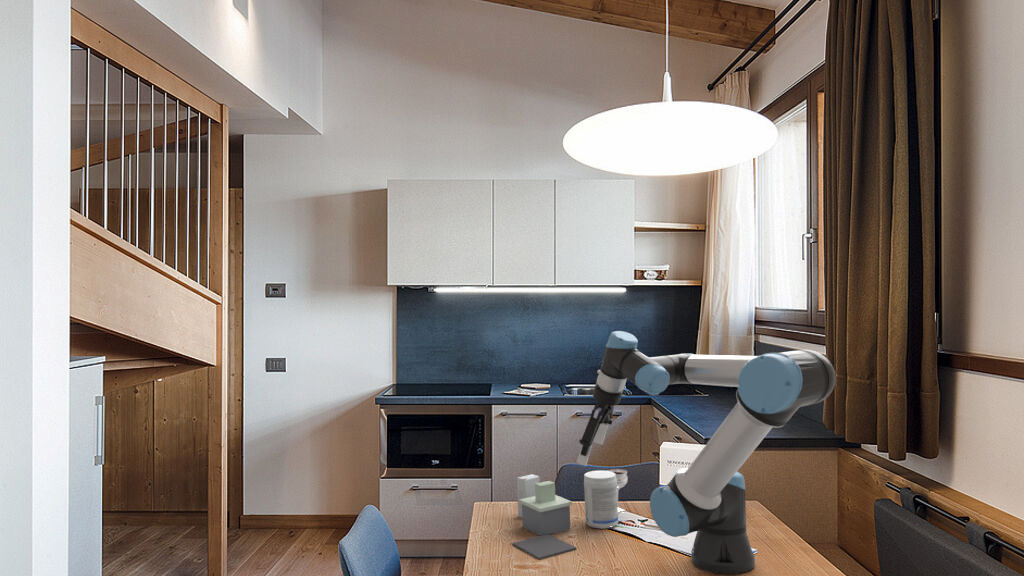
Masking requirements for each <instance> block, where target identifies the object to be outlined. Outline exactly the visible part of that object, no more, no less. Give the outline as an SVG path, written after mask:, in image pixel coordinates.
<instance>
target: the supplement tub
mask: <svg viewBox="0 0 1024 576" xmlns="http://www.w3.org/2000/svg"><path fill="white" fill-rule="evenodd" d="M583 477H584V478H583V486H584V487H583V489H584V508H585V510H584V511H585V513H584V514H585V523H586V525H588V526H589V527H590V528H594V529H603V530H604V529H609V528H608V527H610V526H614V525H616V526H617V525H618V524H619V513H618V508H619V499H618V500H617V481H616V474H615V473H613V472H610V471H607V470H591V471H587V472H586V473H584V476H583ZM614 527H615V526H614Z"/></svg>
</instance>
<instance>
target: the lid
mask: <svg viewBox="0 0 1024 576" xmlns="http://www.w3.org/2000/svg"><path fill="white" fill-rule="evenodd" d="M519 502H520V503H521V504H523V505H525V506H528V507H530V508H532V509H534V510H536V511H539V512H544V511H549V510H553V509H557V508H561V507H566V506H570V507H571V506H572V505H573V501H572V500H569V499H566V498H564V497H562V496H559V495H558V494H556V482H554V481H552V480H547V481H542V482H541V481H540V483H535V496H533V497H528V498H524V499H519Z"/></svg>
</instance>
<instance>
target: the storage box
mask: <svg viewBox="0 0 1024 576" xmlns="http://www.w3.org/2000/svg"><path fill="white" fill-rule="evenodd" d="M521 519H522V520H521V521H522V528H524V529H526V530H527V531H531V532H532V533H534V534H536V535H537V536H542V535H546V534H550V535H553V534H556V533H561V532H565V531H570V530H571V505H570V506H566V507H561V508H557V509H553V510H549V511H544V512H539V511H536V510H534V509H532V508H530V507H528V506H525V505H523V504H522V517H521Z"/></svg>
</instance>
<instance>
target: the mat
mask: <svg viewBox="0 0 1024 576" xmlns="http://www.w3.org/2000/svg"><path fill="white" fill-rule="evenodd" d="M512 546H514V547H516V548H517V549H520V550H521V551H523V552H525V553H527V554H528V555H530V556H531V557H534V558H535V559H537V560H543V559H547V558H550V557H553V556H557V555H561V554H564V553H568V552H573V551H575V550H577V547H576V546H574V545H572V544H571V543H568V542H566V541H564V540H562V539H560V538H558V537H557V536H556V537H555V536H554V535H553V534H546V535H542V536H540V535H537V536H534V537H530V538H527V539H523V540H519V541H518V540H517V541H515V542H512Z"/></svg>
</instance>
